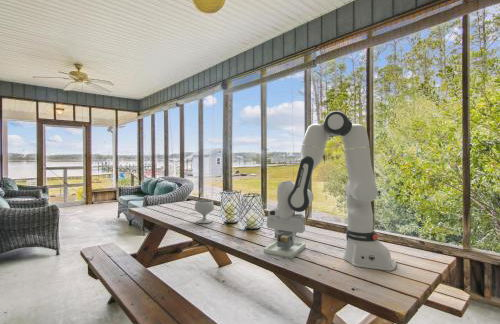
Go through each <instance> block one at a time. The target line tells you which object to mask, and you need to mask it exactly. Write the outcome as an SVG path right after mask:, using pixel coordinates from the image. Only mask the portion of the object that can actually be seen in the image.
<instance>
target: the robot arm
mask: <svg viewBox="0 0 500 324" xmlns="http://www.w3.org/2000/svg"><path fill="white" fill-rule="evenodd" d="M332 137H333V138H334V137H341V138H342V141H343V146H344V147H343V148H344V149H343V150H344V157H345V168H346V171H347V175H348V181H347V182H346V184H345V189H346V191H345V192H346V194H345V195H346V207H347V227H346V231H345V234H346V235H345V238H346V245H345V246H346V247H345V252H344V255H343V259H344V261H346V262H347V263H350V264H351V265H353V266H354V267H358V268H366V269H372V270H373V269H374V270H380V271H381V270H382V271H387V272H388V271H389V272H390V271H395V269H396V268H397V261H396V260H395V259H393V258H392V257H391V251H390V249H389V248H388V247H387V246H385V245H384V244H383V243H381V242H380V240H379V239H378V238H379V237H378V232H377V231H376V232H375V231H374V213H373V209H372V207H373V206H372V203H371V202H373V201H375V199H376V198H377V197H378V193H379V192H378V188H377V184H376V179H375V178H376V177H375V174H374V169H373V165H372V158H371V149H370V148H371V146H370V140H369V135H368V131H367V129H366V127H365V126H364V125H362V124H359V123H355V124H354V123H352V121H351V120H350V118H349V117H348V115H346V114H345V113H344V112H342V111H339V110H333V111H330V112H329V113H327V114H326V116H325V117H324V120H323V122H322V123H313V124H310V125H309V126H308V127H307V129H306V131H305V134H304V136H303V140H302V145H301V150H300V160H299V165H298V171H297V176H296V180H295V182H294V181H293V180H285V181H280V182H279V183H278V185H277V189H276V199H277V205H276V207H275V208H273V209H270V210H268V211H267V214H268V216H267V218H266V227H267V228H268V229H272V230H274V234H275V233H276V235H278V234H279V232H278V231H279V230H283V231H290V232H293V234H294V235H293V236H291V240H292V241H295V237H296V235H297V234H298V233H299V234H303V233H304V232H305V231H306V223H305V222H306V217H305V215H303V214H302V212H304V211H306V210H307V209H308V207H310V205H311V204H312V203H313V201H314V193H313V192H312V190H310V189H309V187H310V182H311V178H312V175H313V172H314V170H315V169H316V167H317V166H318V165H320V163H321V161H322V160H323V157H324V154H325V149H326V145H327V141H328V138H332ZM294 211H295V213H294ZM296 212H297V213H296Z"/></svg>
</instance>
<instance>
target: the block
mask: <svg viewBox="0 0 500 324" xmlns="http://www.w3.org/2000/svg"><path fill="white" fill-rule="evenodd" d="M280 241H281V242H286V243H288V236H285V235H283V236H281V237H280Z"/></svg>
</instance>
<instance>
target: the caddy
mask: <svg viewBox="0 0 500 324" xmlns="http://www.w3.org/2000/svg"><path fill="white" fill-rule="evenodd" d="M293 235H294V234H291V235H289V236H288V243H286V242H281V241H280V237H281V236H283V232H282V233H280V234H278V235H277V238H276V239H277V240H276V241H277V247H281V248H287V249H289V248H291V247H292V246H293V245H294V241H295V240H294V241H292V240H291V236H293Z"/></svg>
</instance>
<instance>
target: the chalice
mask: <svg viewBox="0 0 500 324" xmlns="http://www.w3.org/2000/svg"><path fill="white" fill-rule="evenodd" d="M214 205H215V204H214V201H213V200H209V199H201V200H196V202H195V204H194V210H195V211H196V212H197V213H199V214H200V215H201V216H202V218H200V219H197V220H195V223H198V224H210V223H212V222H213V220H212V219H209V218H207V217H206V216H207V215H208V214H210V213H211V212H213V211H214V210H215V206H214Z"/></svg>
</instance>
